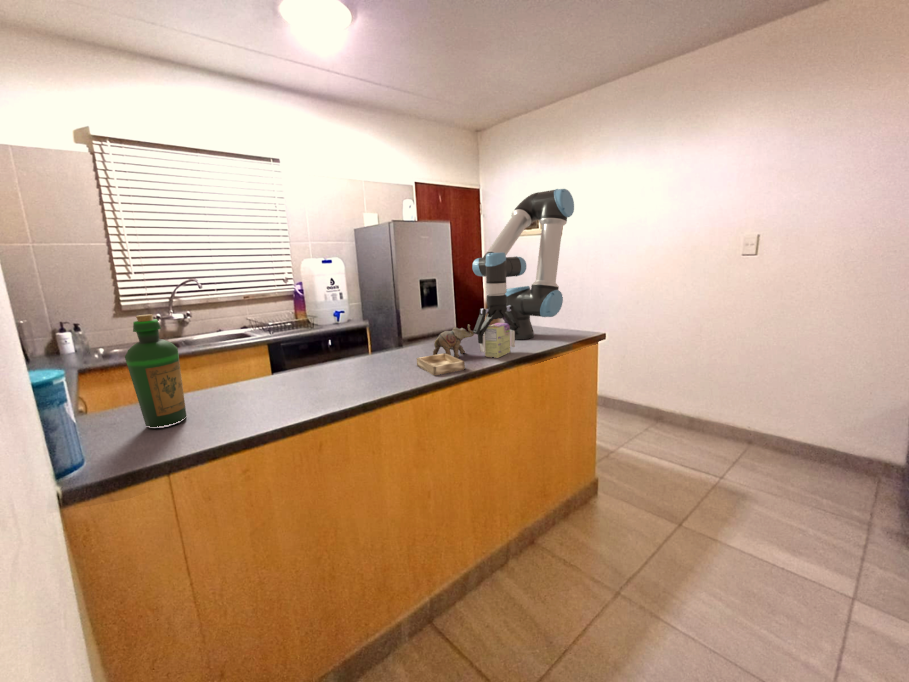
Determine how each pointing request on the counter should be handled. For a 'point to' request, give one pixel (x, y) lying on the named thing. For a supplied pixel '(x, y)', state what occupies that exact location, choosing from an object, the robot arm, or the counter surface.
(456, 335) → the figurine
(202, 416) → the counter surface
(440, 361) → the tray
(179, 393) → the bottle
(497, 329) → the box
